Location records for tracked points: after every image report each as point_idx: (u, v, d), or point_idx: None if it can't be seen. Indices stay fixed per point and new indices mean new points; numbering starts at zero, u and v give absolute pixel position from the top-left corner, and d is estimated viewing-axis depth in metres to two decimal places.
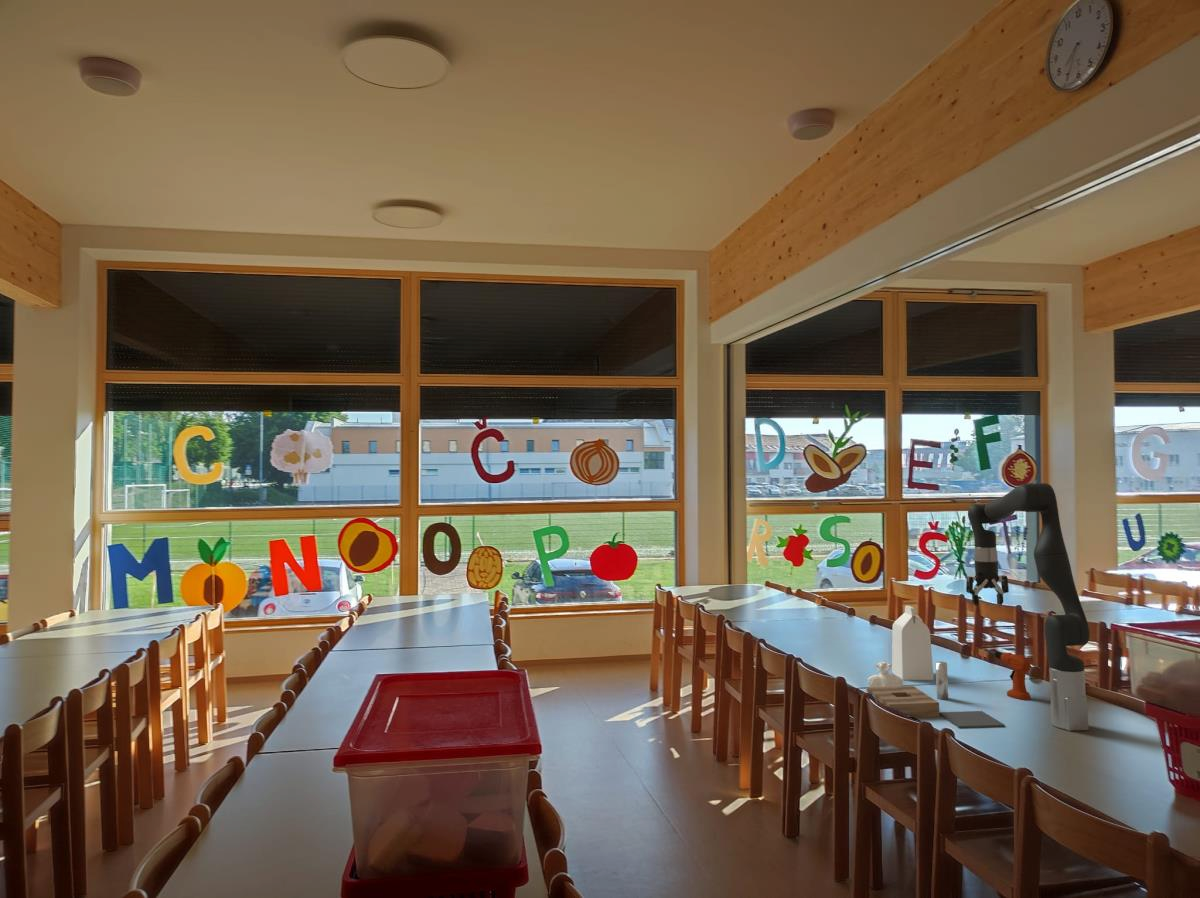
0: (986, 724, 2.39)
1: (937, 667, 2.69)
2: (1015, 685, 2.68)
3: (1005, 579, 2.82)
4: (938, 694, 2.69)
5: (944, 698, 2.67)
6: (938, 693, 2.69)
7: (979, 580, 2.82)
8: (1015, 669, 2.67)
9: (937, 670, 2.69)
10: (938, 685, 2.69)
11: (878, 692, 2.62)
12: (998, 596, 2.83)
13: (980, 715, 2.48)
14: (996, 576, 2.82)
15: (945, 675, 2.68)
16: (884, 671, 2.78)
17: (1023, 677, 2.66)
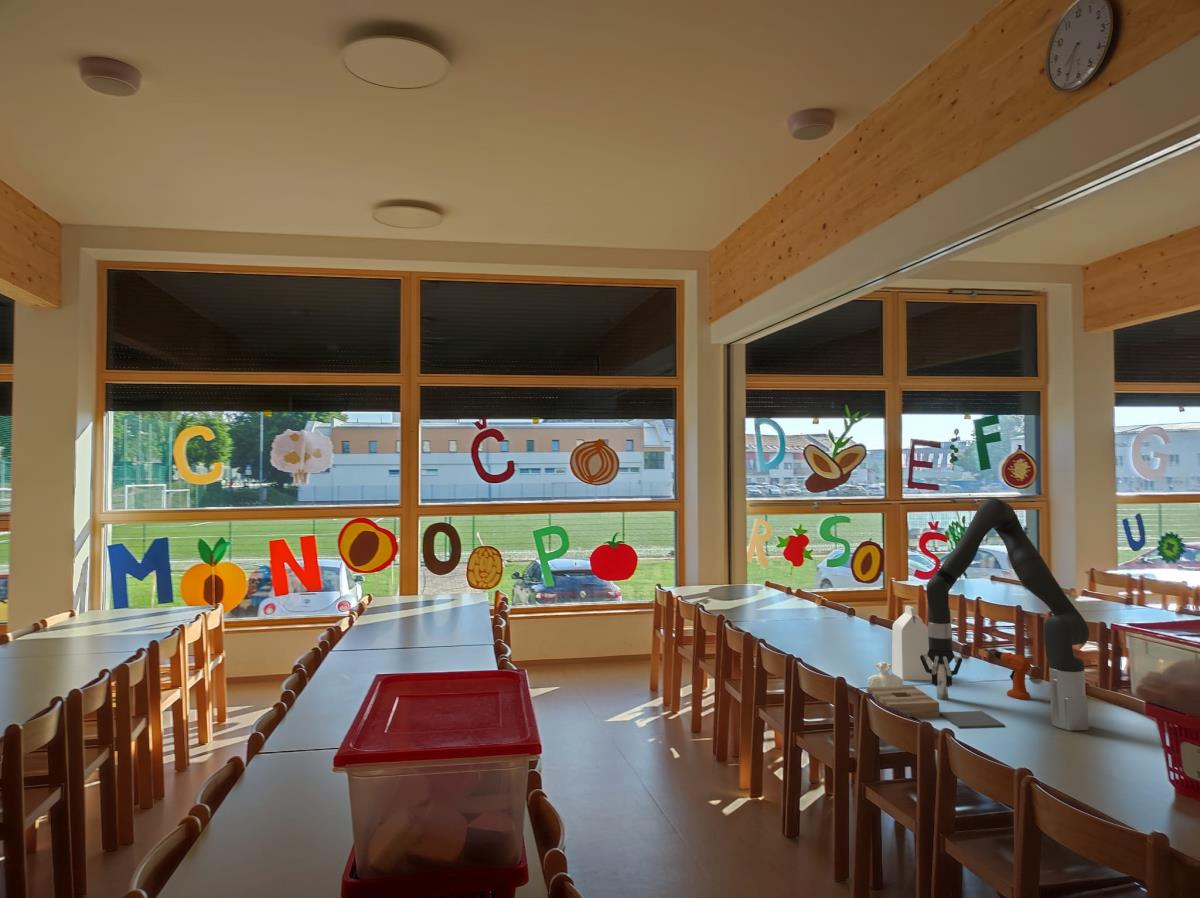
0: (986, 724, 2.39)
1: (937, 667, 2.69)
2: (1015, 685, 2.68)
3: None
4: (938, 694, 2.69)
5: (944, 698, 2.67)
6: (938, 693, 2.69)
7: None
8: (1015, 669, 2.67)
9: (937, 670, 2.69)
10: (938, 685, 2.69)
11: (878, 692, 2.62)
12: None
13: (980, 715, 2.48)
14: None
15: (945, 675, 2.68)
16: (884, 671, 2.78)
17: (1023, 677, 2.66)
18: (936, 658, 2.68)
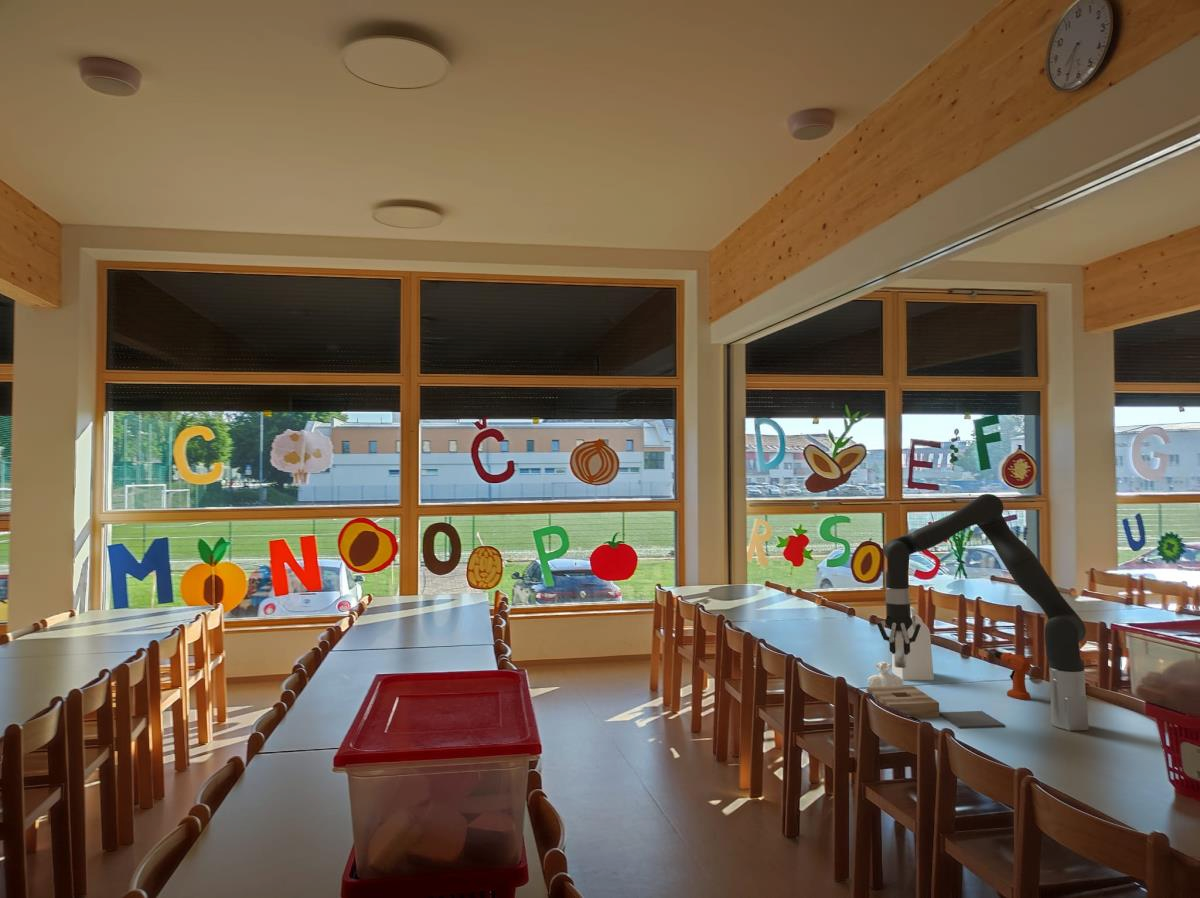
0: (986, 724, 2.39)
1: (895, 634, 2.59)
2: (1015, 685, 2.68)
3: None
4: (896, 662, 2.59)
5: (902, 666, 2.58)
6: (896, 661, 2.59)
7: None
8: (1015, 669, 2.67)
9: (895, 637, 2.59)
10: (896, 653, 2.59)
11: (878, 692, 2.62)
12: None
13: (980, 715, 2.48)
14: None
15: (903, 642, 2.58)
16: (884, 671, 2.78)
17: (1023, 677, 2.66)
18: (894, 625, 2.59)
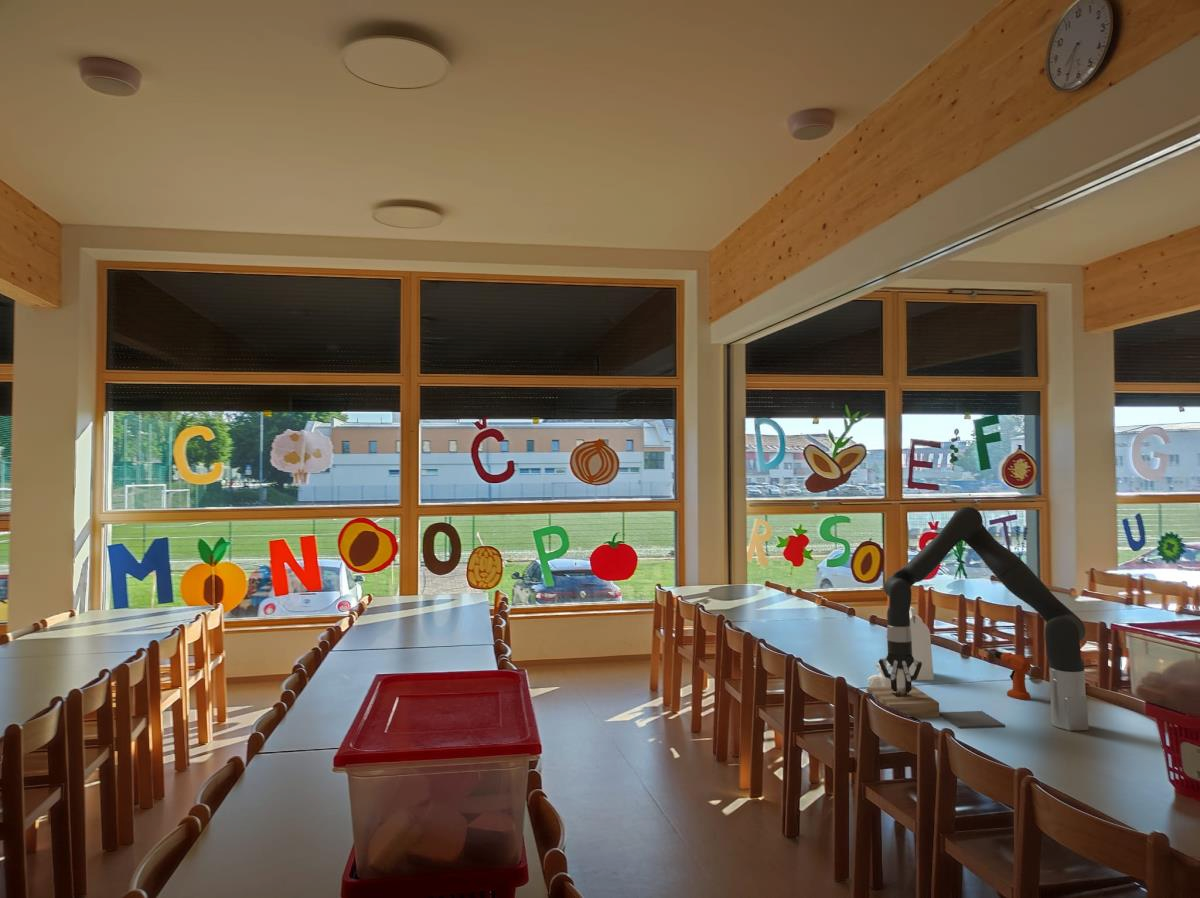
0: (986, 724, 2.39)
1: (896, 672, 2.59)
2: (1015, 685, 2.68)
3: None
4: None
5: None
6: None
7: None
8: (1015, 669, 2.67)
9: (896, 675, 2.59)
10: (897, 690, 2.58)
11: (878, 692, 2.62)
12: None
13: (980, 715, 2.48)
14: None
15: (904, 680, 2.58)
16: None
17: (1023, 677, 2.66)
18: (895, 662, 2.58)
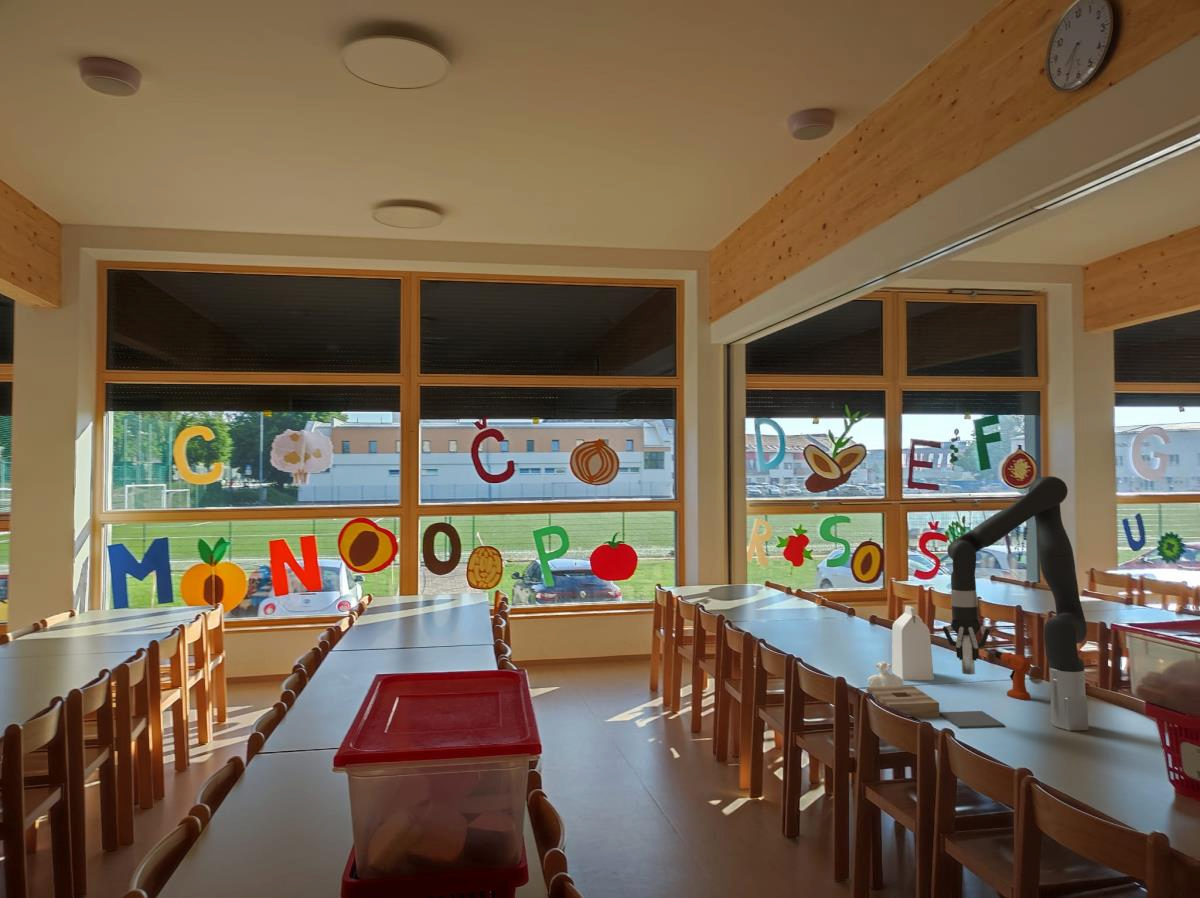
0: (986, 724, 2.39)
1: (962, 639, 2.45)
2: (1015, 685, 2.68)
3: None
4: (964, 668, 2.45)
5: (970, 673, 2.44)
6: (964, 667, 2.45)
7: None
8: (1015, 669, 2.67)
9: (962, 642, 2.45)
10: (963, 658, 2.45)
11: (878, 692, 2.62)
12: None
13: (980, 715, 2.48)
14: None
15: (971, 647, 2.44)
16: (884, 671, 2.78)
17: (1023, 677, 2.66)
18: (961, 629, 2.45)
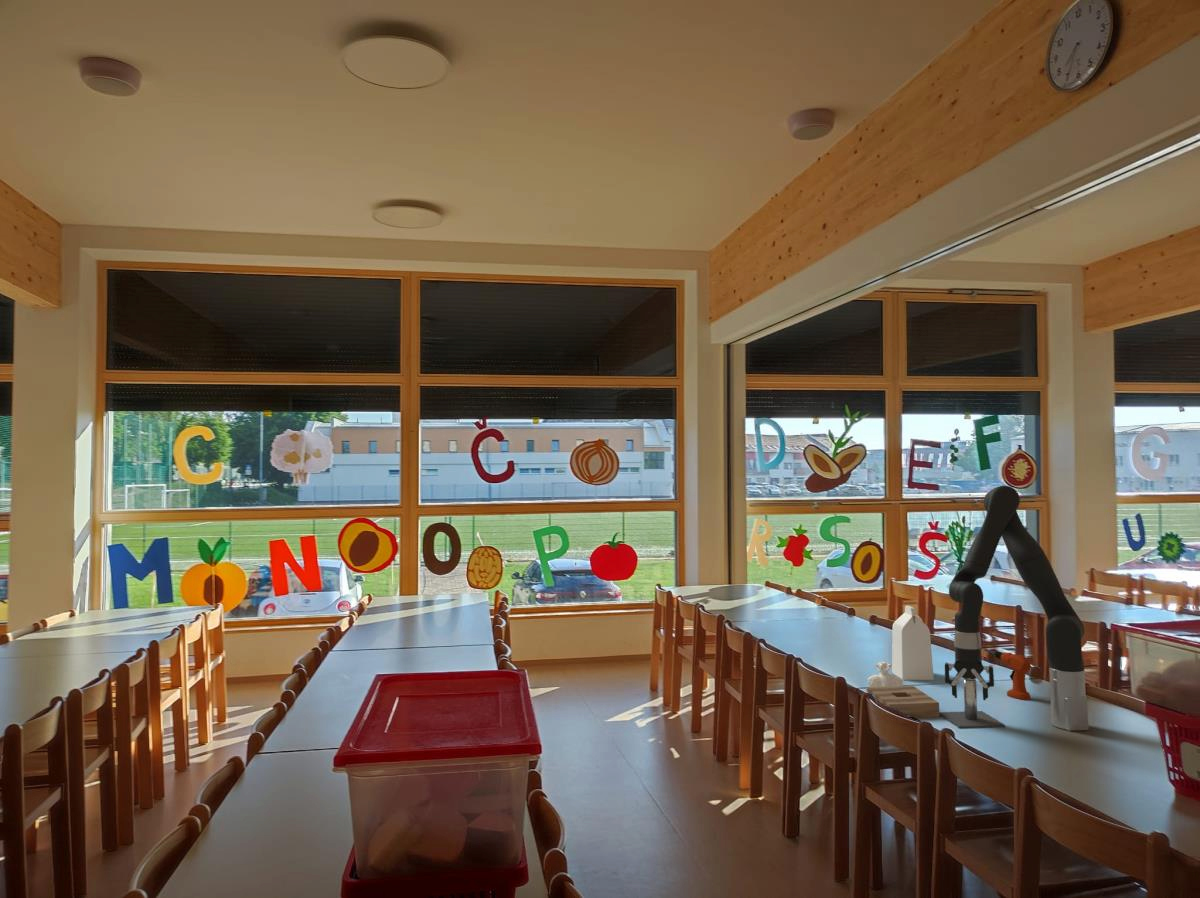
0: (986, 724, 2.39)
1: (965, 684, 2.45)
2: (1015, 685, 2.68)
3: None
4: (966, 714, 2.45)
5: (973, 718, 2.43)
6: (966, 713, 2.45)
7: None
8: (1015, 669, 2.67)
9: (965, 687, 2.45)
10: (966, 704, 2.45)
11: (878, 692, 2.62)
12: (956, 687, 2.47)
13: (980, 715, 2.48)
14: None
15: (974, 693, 2.44)
16: (884, 671, 2.78)
17: (1023, 677, 2.66)
18: (963, 670, 2.45)
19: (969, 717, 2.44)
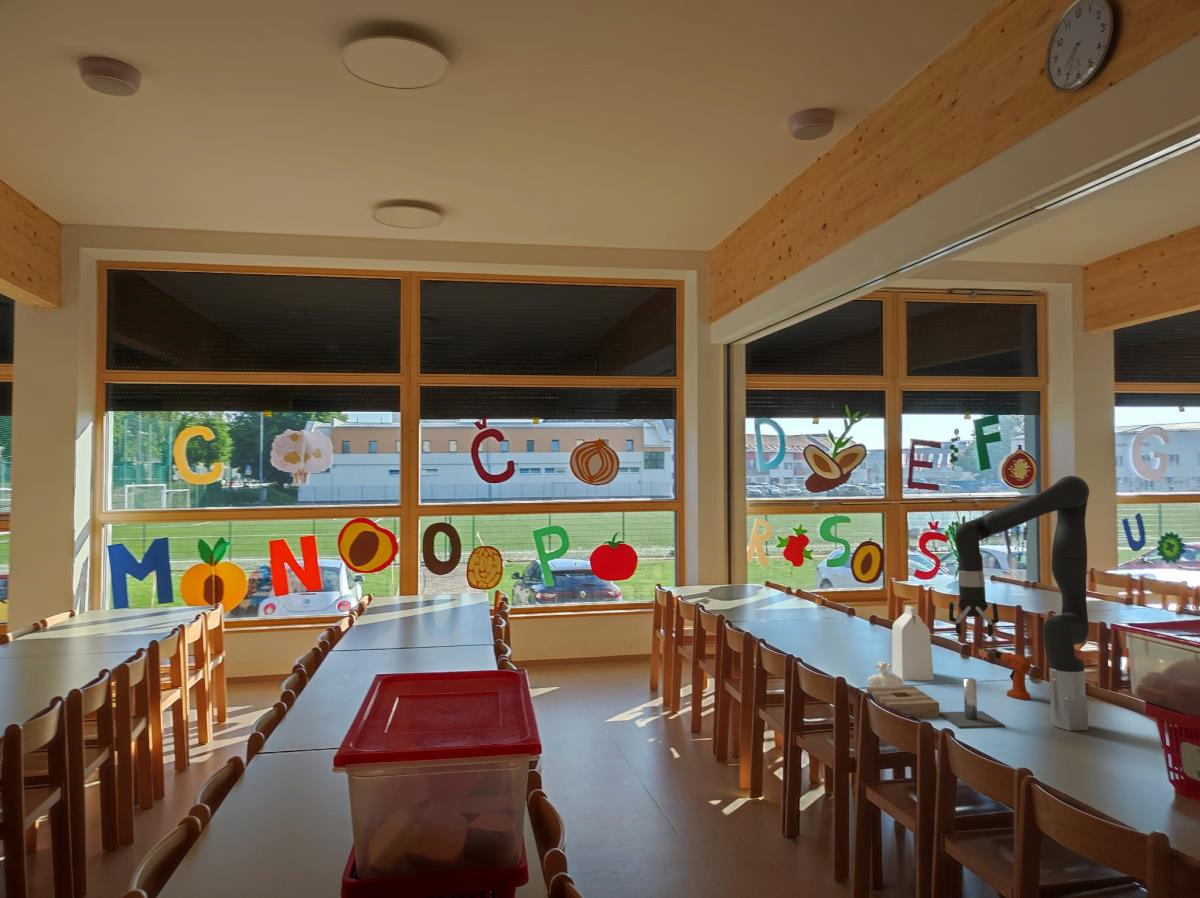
0: (986, 724, 2.39)
1: (965, 684, 2.45)
2: (1015, 685, 2.68)
3: None
4: (966, 714, 2.45)
5: (973, 718, 2.43)
6: (966, 713, 2.45)
7: None
8: (1015, 669, 2.67)
9: (965, 687, 2.45)
10: (966, 704, 2.45)
11: (878, 692, 2.62)
12: None
13: (980, 715, 2.48)
14: None
15: (974, 693, 2.44)
16: (884, 671, 2.78)
17: (1023, 677, 2.66)
18: (968, 608, 2.51)
19: (969, 717, 2.44)
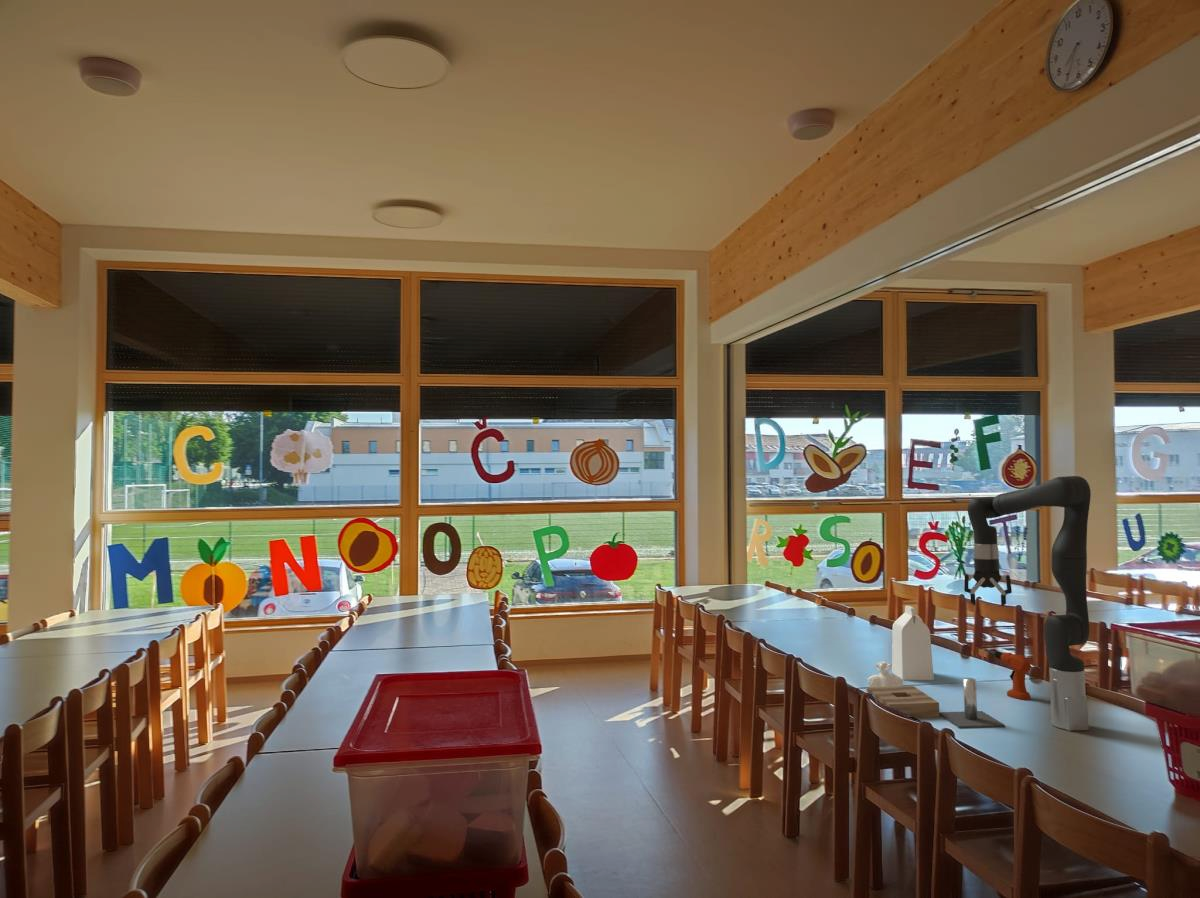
0: (986, 724, 2.39)
1: (965, 684, 2.45)
2: (1015, 685, 2.68)
3: None
4: (966, 714, 2.45)
5: (973, 718, 2.43)
6: (966, 713, 2.45)
7: None
8: (1015, 669, 2.67)
9: (965, 687, 2.45)
10: (966, 704, 2.45)
11: (878, 692, 2.62)
12: None
13: (980, 715, 2.48)
14: None
15: (974, 693, 2.44)
16: (884, 671, 2.78)
17: (1023, 677, 2.66)
18: (982, 579, 2.64)
19: (969, 717, 2.44)
